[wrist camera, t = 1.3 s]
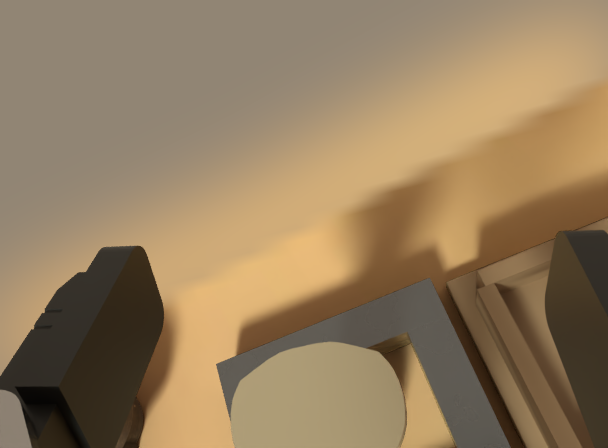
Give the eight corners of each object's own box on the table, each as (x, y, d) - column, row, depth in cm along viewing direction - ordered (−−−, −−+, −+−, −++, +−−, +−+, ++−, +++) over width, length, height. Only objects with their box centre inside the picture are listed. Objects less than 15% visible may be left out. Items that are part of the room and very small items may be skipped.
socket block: (431, 293, 36) (429, 277, 34) (542, 527, 30) (551, 531, 27) (233, 372, 37) (216, 364, 35) (297, 617, 31) (283, 629, 28)
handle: (312, 410, 35) (225, 362, 22) (414, 390, 34) (388, 327, 21) (325, 495, 33) (237, 500, 20) (434, 476, 32) (419, 468, 19)
